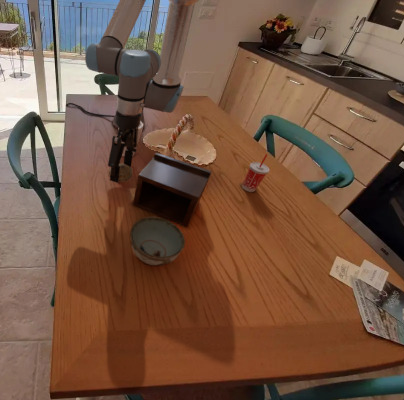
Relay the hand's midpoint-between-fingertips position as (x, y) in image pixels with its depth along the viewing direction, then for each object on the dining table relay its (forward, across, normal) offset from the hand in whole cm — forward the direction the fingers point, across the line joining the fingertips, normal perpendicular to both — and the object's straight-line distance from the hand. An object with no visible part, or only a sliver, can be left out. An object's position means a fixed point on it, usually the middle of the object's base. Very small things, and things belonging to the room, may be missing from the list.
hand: (120, 173), depth 93 cm
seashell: (0, 0, 0) cm, 0 cm away
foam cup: (+4, +20, +7) cm, 21 cm away
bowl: (+4, -23, -22) cm, 32 cm away
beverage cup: (+4, +25, -40) cm, 47 cm away
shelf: (+4, -1, -18) cm, 18 cm away
